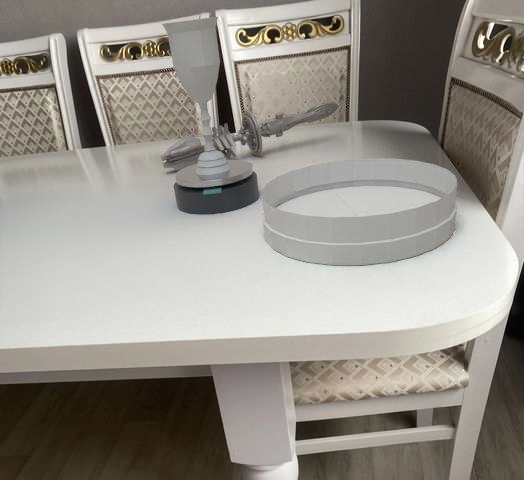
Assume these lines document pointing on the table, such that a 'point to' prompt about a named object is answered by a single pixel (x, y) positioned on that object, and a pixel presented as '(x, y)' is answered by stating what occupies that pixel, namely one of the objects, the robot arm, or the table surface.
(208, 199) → the scale
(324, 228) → the gray round ring
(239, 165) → the scale pan
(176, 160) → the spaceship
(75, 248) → the table surface
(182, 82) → the chalice
